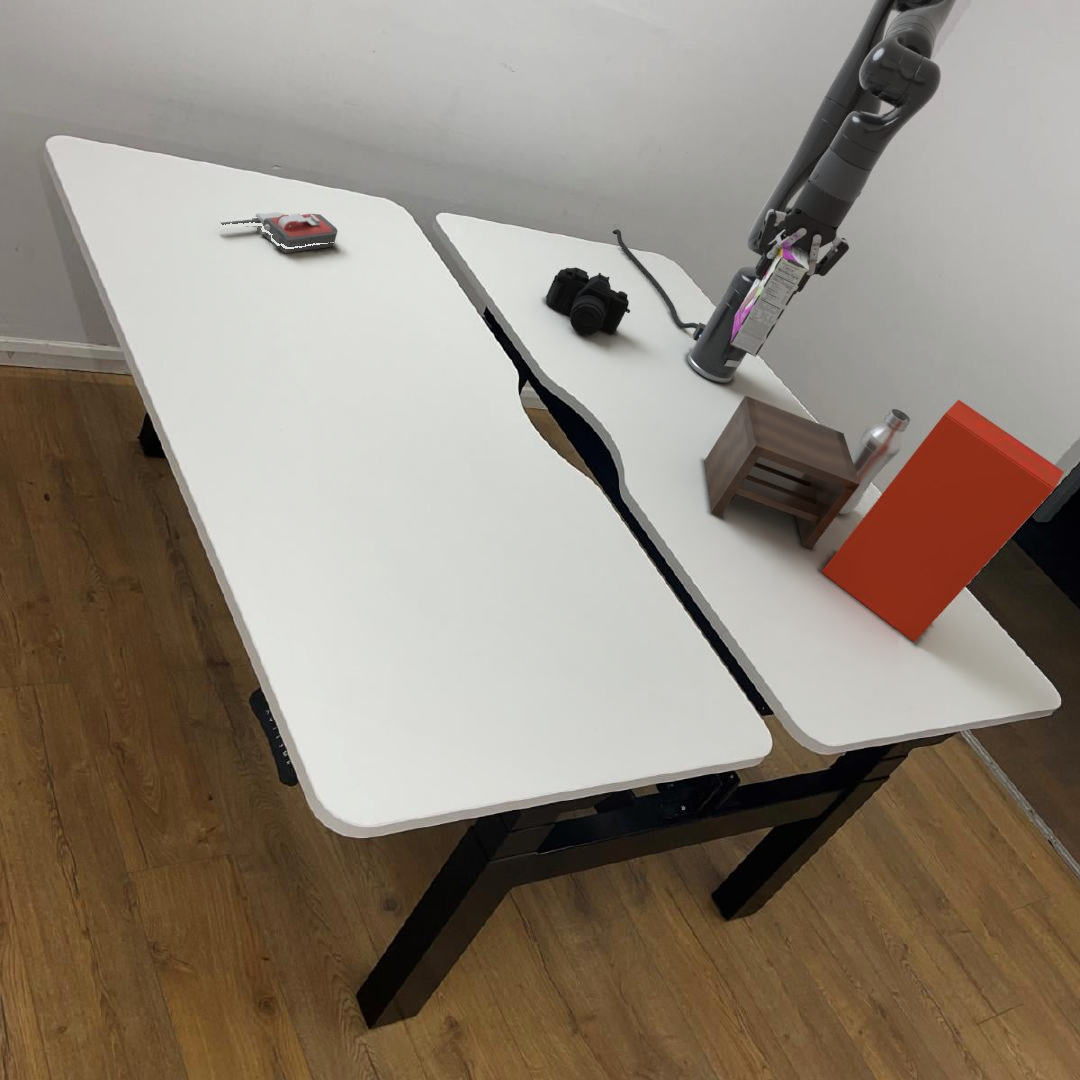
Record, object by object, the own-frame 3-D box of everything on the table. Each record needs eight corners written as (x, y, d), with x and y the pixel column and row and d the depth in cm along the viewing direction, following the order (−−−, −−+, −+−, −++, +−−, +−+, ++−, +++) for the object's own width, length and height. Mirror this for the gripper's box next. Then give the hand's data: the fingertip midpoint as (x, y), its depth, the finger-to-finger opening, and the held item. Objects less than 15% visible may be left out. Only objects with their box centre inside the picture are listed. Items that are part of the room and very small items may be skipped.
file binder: (913, 644, 159) (1054, 489, 140) (820, 573, 163) (944, 413, 144) (927, 622, 165) (1064, 470, 146) (837, 554, 169) (959, 398, 150)
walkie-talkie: (309, 219, 183) (213, 229, 168) (315, 196, 180) (218, 205, 165) (341, 247, 180) (247, 260, 165) (348, 224, 177) (252, 235, 163)
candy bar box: (732, 315, 174) (783, 228, 164) (758, 329, 174) (811, 243, 164) (727, 344, 165) (781, 254, 155) (755, 358, 165) (811, 269, 155)
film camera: (537, 317, 189) (556, 274, 184) (546, 295, 197) (564, 253, 191) (613, 351, 191) (634, 310, 185) (619, 329, 198) (639, 288, 193)
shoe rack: (703, 461, 175) (745, 395, 166) (798, 496, 178) (843, 433, 170) (710, 513, 164) (755, 445, 155) (811, 549, 168) (860, 484, 159)
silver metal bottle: (809, 492, 181) (875, 401, 169) (837, 493, 184) (903, 404, 172) (828, 518, 177) (897, 426, 165) (857, 519, 180) (926, 429, 168)
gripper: (871, 195, 158) (811, 290, 168) (787, 157, 155) (731, 257, 165) (881, 215, 152) (818, 312, 162) (794, 176, 149) (736, 278, 159)
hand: (775, 284), depth 164 cm, fingers closed on candy bar box, 5 cm apart
